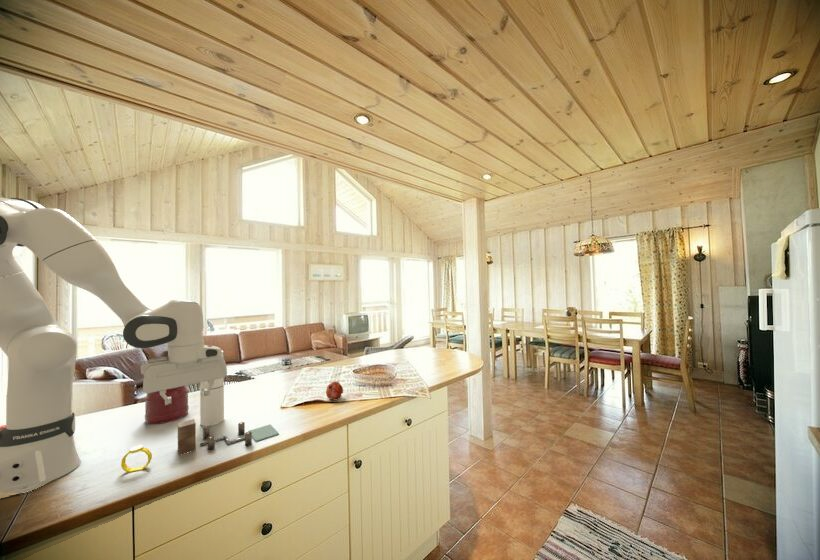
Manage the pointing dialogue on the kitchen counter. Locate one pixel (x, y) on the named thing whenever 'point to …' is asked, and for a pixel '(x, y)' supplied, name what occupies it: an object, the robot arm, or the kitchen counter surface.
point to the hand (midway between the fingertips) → (188, 399)
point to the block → (186, 436)
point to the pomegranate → (334, 390)
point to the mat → (263, 433)
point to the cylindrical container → (212, 403)
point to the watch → (134, 450)
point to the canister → (165, 413)
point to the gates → (212, 438)
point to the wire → (225, 440)
